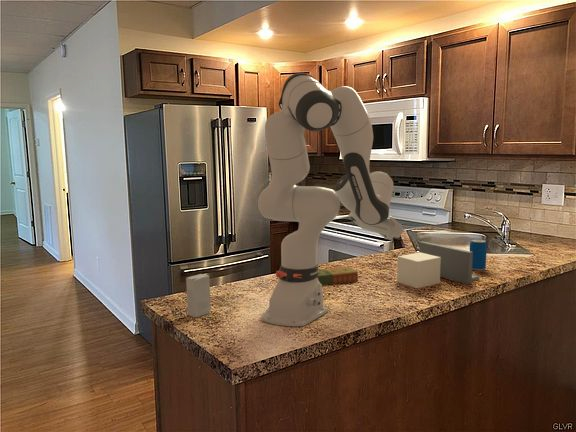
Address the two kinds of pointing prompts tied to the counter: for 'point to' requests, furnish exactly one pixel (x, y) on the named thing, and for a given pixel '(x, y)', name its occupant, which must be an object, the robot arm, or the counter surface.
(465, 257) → the grey stand
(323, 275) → the carton
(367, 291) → the counter surface
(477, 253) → the beverage can
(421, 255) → the block
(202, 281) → the skincare box
